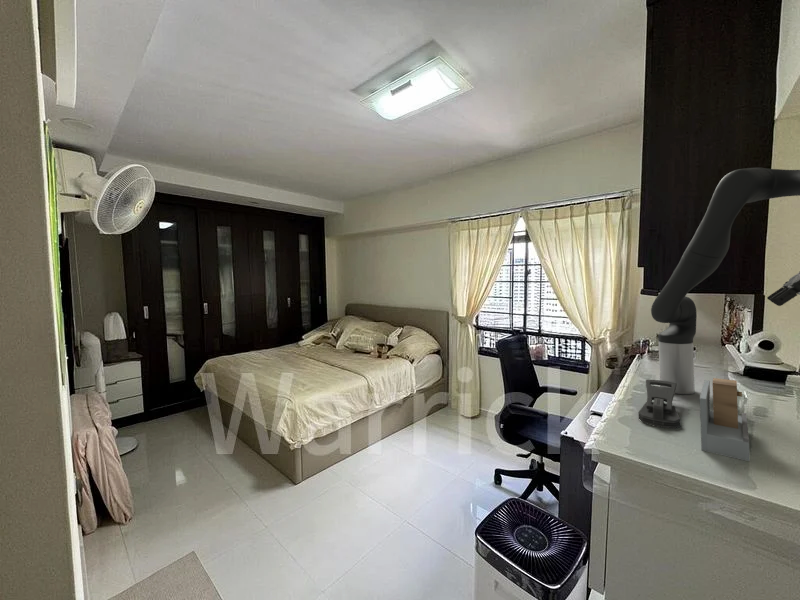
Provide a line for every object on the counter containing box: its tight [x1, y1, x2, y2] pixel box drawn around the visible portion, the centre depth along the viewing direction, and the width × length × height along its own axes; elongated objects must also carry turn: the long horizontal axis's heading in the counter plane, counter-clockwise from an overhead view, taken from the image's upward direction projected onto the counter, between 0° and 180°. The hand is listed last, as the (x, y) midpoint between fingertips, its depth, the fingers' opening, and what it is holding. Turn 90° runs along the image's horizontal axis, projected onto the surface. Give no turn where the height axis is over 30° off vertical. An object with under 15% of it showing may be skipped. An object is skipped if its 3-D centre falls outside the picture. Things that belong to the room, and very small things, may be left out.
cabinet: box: [712, 377, 743, 429], centre depth 76 cm, size 5×5×10 cm
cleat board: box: [699, 379, 751, 462], centre depth 76 cm, size 18×7×12 cm, turn 134°
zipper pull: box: [637, 379, 681, 430], centre depth 94 cm, size 9×7×25 cm
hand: (772, 302), depth 75 cm, fingers open, 8 cm apart
